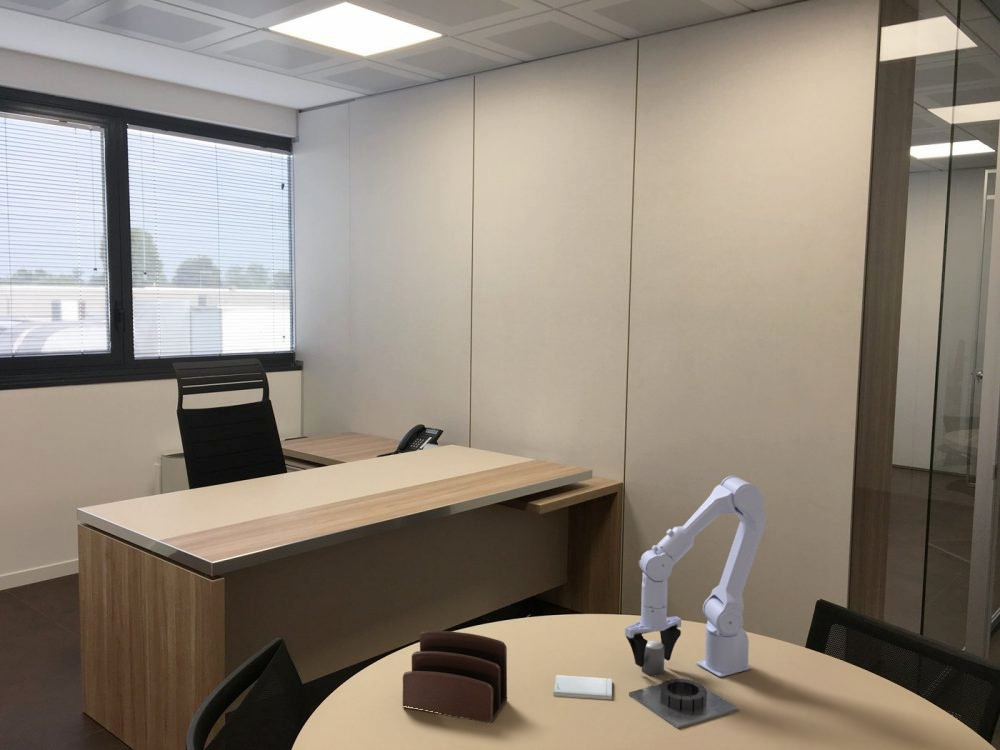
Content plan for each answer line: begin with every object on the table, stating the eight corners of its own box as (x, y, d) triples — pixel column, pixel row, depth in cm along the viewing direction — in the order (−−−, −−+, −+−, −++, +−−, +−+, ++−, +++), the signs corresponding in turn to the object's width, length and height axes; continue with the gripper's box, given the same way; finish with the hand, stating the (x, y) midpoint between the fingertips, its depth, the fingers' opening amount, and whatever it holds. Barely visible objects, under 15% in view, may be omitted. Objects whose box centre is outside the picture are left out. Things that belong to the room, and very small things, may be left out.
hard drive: (553, 691, 177) (612, 694, 175) (555, 674, 185) (612, 677, 183) (553, 698, 177) (611, 702, 175) (555, 681, 185) (611, 684, 184)
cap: (654, 664, 193) (655, 638, 192) (668, 673, 188) (669, 646, 188) (637, 668, 190) (637, 642, 190) (650, 677, 186) (651, 650, 185)
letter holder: (421, 687, 181) (421, 625, 180) (507, 701, 175) (508, 637, 173) (401, 709, 171) (401, 643, 170) (492, 724, 165) (492, 656, 164)
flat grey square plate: (686, 679, 185) (687, 666, 185) (738, 710, 171) (739, 696, 171) (628, 695, 177) (629, 681, 177) (677, 728, 163) (678, 714, 163)
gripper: (667, 593, 195) (666, 649, 196) (617, 603, 188) (616, 661, 189) (688, 603, 189) (686, 660, 190) (636, 613, 182) (635, 673, 183)
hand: (652, 662), depth 189 cm, fingers open, 7 cm apart
